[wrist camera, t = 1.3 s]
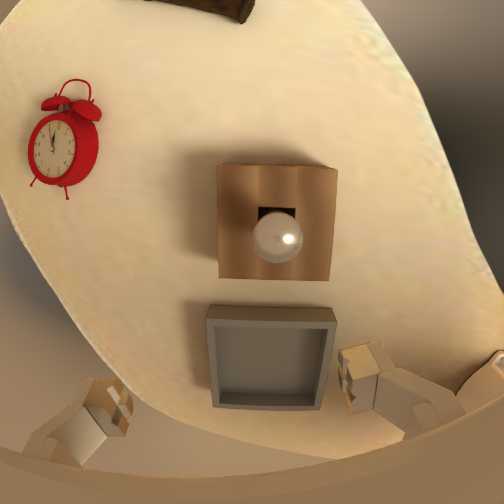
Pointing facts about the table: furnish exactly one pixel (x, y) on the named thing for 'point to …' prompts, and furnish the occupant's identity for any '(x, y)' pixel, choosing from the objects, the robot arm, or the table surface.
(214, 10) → the hand tool
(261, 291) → the table surface
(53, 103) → the alarm clock
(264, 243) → the pin
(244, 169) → the block
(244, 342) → the tray
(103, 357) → the table surface
